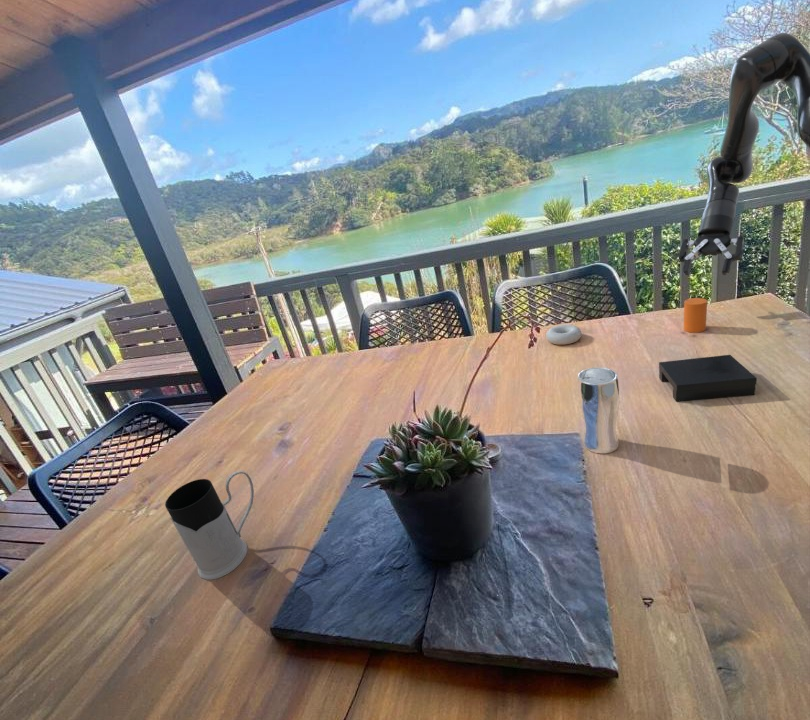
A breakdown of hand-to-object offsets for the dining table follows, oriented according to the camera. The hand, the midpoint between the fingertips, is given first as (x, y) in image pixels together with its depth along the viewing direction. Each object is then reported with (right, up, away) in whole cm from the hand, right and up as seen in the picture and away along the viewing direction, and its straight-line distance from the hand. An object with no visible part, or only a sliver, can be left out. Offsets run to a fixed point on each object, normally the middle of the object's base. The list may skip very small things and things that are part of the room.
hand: (704, 273), depth 118 cm
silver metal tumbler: (-44, -40, -34) cm, 68 cm away
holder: (-112, -58, -38) cm, 132 cm away
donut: (-34, -18, +12) cm, 40 cm away
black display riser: (-17, -29, -25) cm, 42 cm away
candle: (-3, -15, -1) cm, 15 cm away
